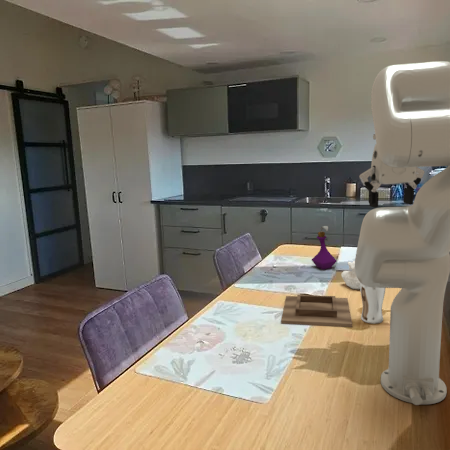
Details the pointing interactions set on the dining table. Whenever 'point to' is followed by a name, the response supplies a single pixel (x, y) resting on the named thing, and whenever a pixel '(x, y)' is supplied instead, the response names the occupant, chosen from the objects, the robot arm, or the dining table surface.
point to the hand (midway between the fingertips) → (391, 205)
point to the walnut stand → (316, 311)
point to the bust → (351, 277)
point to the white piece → (372, 304)
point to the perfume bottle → (323, 253)
